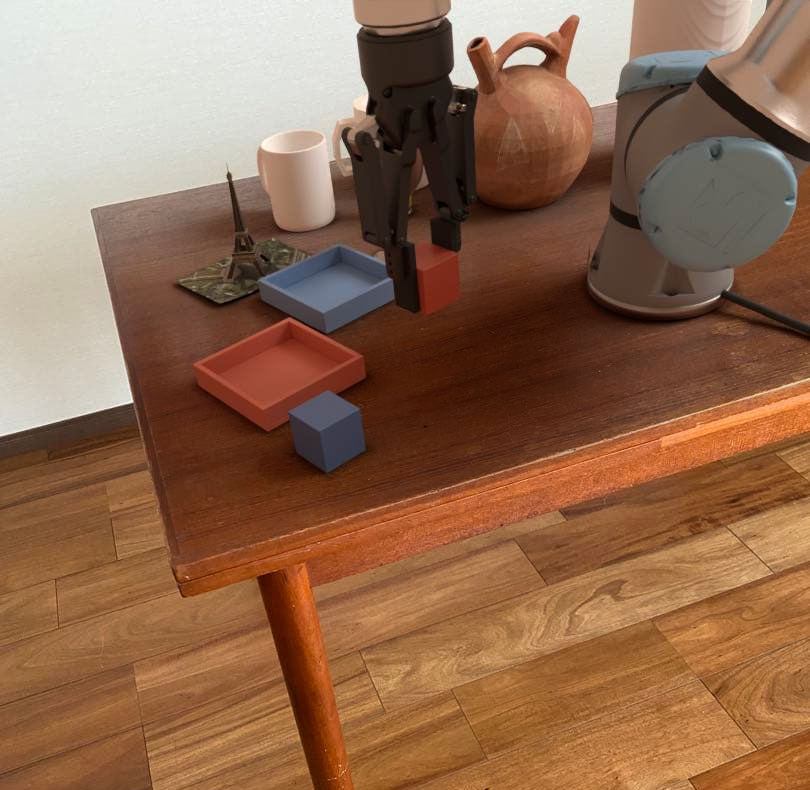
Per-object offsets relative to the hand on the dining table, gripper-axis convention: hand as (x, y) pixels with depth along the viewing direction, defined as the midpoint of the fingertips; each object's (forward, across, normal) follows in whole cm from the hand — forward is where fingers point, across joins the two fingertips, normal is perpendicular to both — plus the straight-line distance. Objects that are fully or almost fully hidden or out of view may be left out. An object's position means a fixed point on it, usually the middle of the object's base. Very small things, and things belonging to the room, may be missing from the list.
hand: (428, 296), depth 84 cm
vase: (+8, -58, -12) cm, 59 cm away
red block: (0, 0, 0) cm, 0 cm away
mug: (+7, -30, -40) cm, 51 cm away
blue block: (+7, +16, +4) cm, 18 cm away
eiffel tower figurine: (+7, 0, -32) cm, 33 cm away
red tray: (+7, +12, -9) cm, 17 cm away
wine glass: (+7, -14, -20) cm, 26 cm away
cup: (+7, -14, -41) cm, 44 cm away
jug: (+8, -38, -22) cm, 44 cm away
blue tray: (+7, -3, -19) cm, 21 cm away
